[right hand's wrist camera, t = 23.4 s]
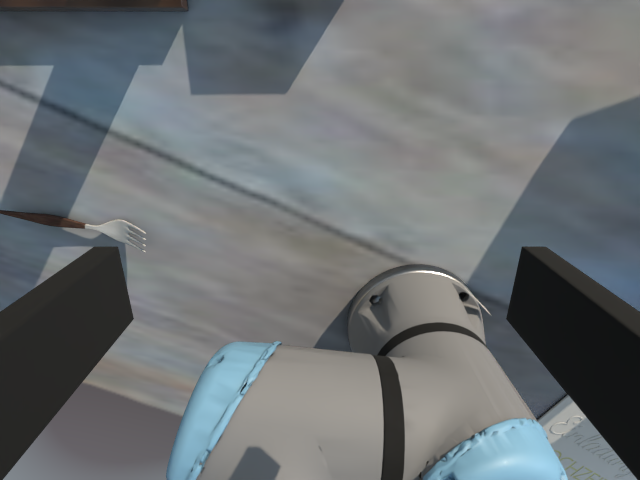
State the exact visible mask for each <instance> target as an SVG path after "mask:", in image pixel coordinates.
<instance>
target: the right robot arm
mask: <svg viewBox="0 0 640 480" xmlns="http://www.w3.org/2000/svg"><path fill="white" fill-rule="evenodd" d="M479 304H480V305H481V306H482V307H483V308H484V309H485V310H486V311H487V312H488V310H487V309H486V308H485V307H484V306H483V305H482V304H481V303H480V302H479V301H478V300H477V299H476V298H475V296H474V295H473V294H472V292H471V291H470V290H469V288H468V287H467V286H466V285H465V283H464V282H463V281H462V280H460V279H459V278H458V277H457V276H455V275H454V274H452V273H450V272H448V271H447V270H444V269H442V268H438V267H435V266H430V265H406V266H400V267H397V268H393V269H390V270H388V271H386V272H383V273H381V274H380V275H378V276H376V277H375V278H373V279H372V280H370V281H369V282H368V283H367V284H366V285H365V286H364V287H363V288H362V289H361V290H360V291H359V292H358V294H357V295H356V297H355V298H354V300H353V302H352V304H351V307H350V309H349V313H348V318H347V330H348V339H349V344H350V347H351V350H352V352H344V351H335V350H325V349H316V348H307V347H297V346H288V345H281V344H282V343H281V342H279V341H275V342H274V343H256V342H233V343H230V344H227V345H225V346H224V347H222V348H221V349H220V350H219V351H217V352H216V353H215V355H214V356H213V357H212V358H211V359H210V361H209V363H208V364H207V366H206V367H205V369H204V371H203V373H202V374H201V376H200V378H199V380H198V382H197V384H196V386H195V388H194V391H193V393H192V395H191V398H190V400H189V402H188V405H187V407H186V410H185V412H184V415H183V418H182V420H181V423H180V426H179V429H178V432H177V435H176V438H175V442H174V445H173V448H172V451H171V455H170V459H169V463H168V467H167V473H166V478H167V480H568V478H567V475H566V472H565V470H564V468H563V466H562V464H561V462H560V461H559V459H558V457H557V455H556V454H555V452H554V450H553V448H552V447H551V445H550V443H549V441H548V437H547V434H546V431H545V430H544V429H543V427H542V426H541V425H540V424H539V422H538V421H537V420H536V418H535V417H534V415H533V414H532V412H531V411H530V409H529V408H528V406H527V405H526V403H525V402H524V401H523V399H522V398H521V396H520V395H519V393H518V392H517V390H516V389H515V387H514V386H513V384H512V383H511V381H510V380H509V379H508V377H507V376H506V374H505V373H504V371H503V370H502V368H501V367H500V365H499V364H498V362H497V361H496V360H495V358H494V357H493V355H492V354H491V352H490V351H489V349H488V348H487V346H486V341H485V334H484V326H483V318H482V312H481V309H480V306H479ZM488 313H489V312H488ZM489 314H490V313H489ZM490 315H491V314H490ZM133 319H134V318H133V314H132V309H131V305H130V300H129V295H128V291H127V286H126V282H125V277H124V272H123V268H122V263H121V259H120V254H119V250H118V247H93V248H92V249H90V250H89V251H88V252H86V253H85V254H83V255H82V256H80V257H79V258H77V259H76V260H75V261H73V262H72V263H70V264H69V265H67V266H66V267H64V268H63V269H62V270H60V271H59V272H57V273H56V274H54V275H53V276H51V277H50V278H49V279H47V280H46V281H44V282H43V283H41V284H40V285H38V286H37V287H36V288H34V289H33V290H31V291H30V292H28V293H27V294H25V295H24V296H23V297H21V298H20V299H18V300H17V301H15V302H14V303H13V304H11V305H10V306H8V307H7V308H5V309H4V310H2V311H1V312H0V480H3V478H4V477H5V476H6V475H7V474H8V472H9V471H10V470H11V469H12V468H13V466H14V465H15V464H16V463H17V461H18V460H19V459H20V458H21V456H22V455H23V454H24V453H25V452H26V450H27V449H28V448H29V447H30V445H31V444H32V443H33V442H34V440H35V439H36V438H37V437H38V436H39V434H40V433H41V432H42V431H43V429H44V428H45V427H46V426H47V425H48V423H49V422H50V421H51V420H52V418H53V417H54V416H55V415H56V414H57V412H58V411H59V410H60V409H61V407H62V406H63V405H64V404H65V402H66V401H67V400H68V399H69V398H70V396H71V395H72V394H73V393H74V391H75V390H76V389H77V388H78V387H79V385H80V384H81V383H82V382H83V380H84V379H85V378H86V377H87V376H88V374H89V373H90V372H91V371H92V369H93V368H94V367H95V366H96V364H97V363H98V362H99V361H100V360H101V358H102V357H103V356H104V355H105V353H106V352H107V351H108V350H109V349H110V347H111V346H112V345H113V344H114V342H115V341H116V340H117V339H118V337H119V336H120V335H121V334H122V333H123V331H124V330H125V329H126V328H127V326H128V325H129V324H130V323H131V322H132V320H133ZM506 319H507V320H508V322H509V323H510V324H511V325H512V326H513V328H514V329H515V330H516V331H517V333H518V334H519V335H520V336H521V337H522V339H523V340H524V341H525V342H526V344H527V345H528V346H529V347H530V349H531V350H532V351H533V352H534V353H535V355H536V356H537V357H538V358H539V360H540V361H541V362H542V363H543V364H544V366H545V367H546V368H547V369H548V371H549V372H550V373H551V374H552V376H553V377H554V378H555V379H556V380H557V382H558V383H559V384H560V385H561V387H562V388H563V389H564V390H565V391H566V393H567V394H568V395H569V396H570V398H571V399H572V400H573V401H574V403H575V404H576V405H577V406H578V407H579V409H580V410H581V411H582V412H583V414H584V415H585V416H586V417H587V418H588V420H589V421H590V422H591V423H592V425H593V426H594V427H595V428H596V430H597V431H598V432H599V433H600V434H601V436H602V437H603V438H604V439H605V441H606V442H607V443H608V444H609V445H610V447H611V448H612V449H613V450H614V452H615V453H616V454H617V455H618V456H619V458H620V459H621V460H622V461H623V463H624V464H625V465H626V466H627V468H628V469H629V470H630V471H631V472H632V474H633V475H634V476H635V477H636V479H637V480H640V312H639V311H638V310H636V309H635V308H633V307H632V306H630V305H629V304H627V303H626V302H625V301H623V300H622V299H620V298H619V297H617V296H616V295H615V294H613V293H612V292H610V291H609V290H607V289H606V288H604V287H603V286H602V285H600V284H599V283H597V282H596V281H594V280H593V279H591V278H590V277H589V276H587V275H586V274H584V273H583V272H581V271H580V270H578V269H577V268H576V267H574V266H573V265H571V264H570V263H568V262H567V261H565V260H564V259H563V258H561V257H560V256H558V255H557V254H555V253H554V252H552V251H551V250H550V249H548V248H547V247H522V250H521V254H520V259H519V263H518V268H517V272H516V277H515V282H514V286H513V291H512V295H511V300H510V305H509V309H508V314H507V318H506Z"/></svg>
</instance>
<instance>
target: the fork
mask: <svg viewBox="0 0 640 480" xmlns="http://www.w3.org/2000/svg"><path fill="white" fill-rule="evenodd" d="M0 213H1V214H4V215H8V216H12V217H16V218H21V219H25V220H29V221H32V222H36V223H40V224H44V225H49V226H56V227H69V228H84V229H93V230H97V231H100V232H102V233H104V234H106V235H107V236H109V237H111V238H113V239H115V240H117V241H119V242H122V243H125V244H128V245H131V246H133V247H135V248H137V249H139V250H141V251H143V252H144V253H145V252H146V251H144V250H143V249H141V248H140V247H138V246H137V245H135V244H133V243H132V242H130V241H129V239H131V240H133V241H135V242H137V243H140V244H141V245H143V246H146V245H145V244H143V243H142V242H140V241H138V240H137V239H135V238H133V237H132V236H130V235H129V233H131V234H134V235H136V236H138V237H140V238H142V239H144V240H146V239H145V238H144V237H142V236H140V235H139V234H137V233H135V232H134V231H132V230H130V229H129V227H132V228H134V229H136V230H139V231H141V232H143V233H144V234H146V232H144V231H143V230H141V229H139V228H138V227H136V226H134V225H132V224H130V223H128V222H126V221H124V220H113V221H110V222H107V223H105V224H102V225H99V226H93V225H88V224H85V223H81V222H78V221H74V220H71V219H67V218H63V217H59V216H55V215H48V214H36V213H23V212H14V211H3V210H0Z"/></svg>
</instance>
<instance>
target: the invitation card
mask: <svg viewBox="0 0 640 480" xmlns="http://www.w3.org/2000/svg"><path fill="white" fill-rule="evenodd" d="M537 421H538V422H539V424H540V425H541V426H542V427H543V429H544V430H545V431H546V434H547V437H548V441H549V443H550V445H551V447H552V448H553V450H554V452H555V454H556V455H557V457H558V459H559V461H560V462H561V464H562V466H563V468H564V470H565V472H566V475H567V478H568V480H637V479H636V477H635V476H634V475H633V474H632V472H631V471H630V470H629V469H628V468H627V466H626V465H625V464H624V463H623V461H622V460H621V459H620V458H619V456H618V455H617V454H616V453H615V452H614V450H613V449H612V448H611V447H610V445H609V444H608V443H607V442H606V441H605V439H604V438H603V437H602V436H601V434H600V433H599V432H598V431H597V430H596V428H595V427H594V426H593V425H592V423H591V422H590V421H589V420H588V418H587V417H586V416H585V415H584V414H583V412H582V411H581V410H580V409H579V407H578V406H577V405H576V404H575V403H574V401H573V400H572V399H571V398H570V396H569V395H567V396H566V397H565V398H563V399H562V400H561V401H560V402H559V403H557V404H556V405H555V406H554V407H553V408H551V409H550V410H549V411H548V412H547V413H545V414H544V415H543V416H542V417H541V418H539V419H538V420H537Z"/></svg>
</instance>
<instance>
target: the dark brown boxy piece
mask: <svg viewBox="0 0 640 480" xmlns="http://www.w3.org/2000/svg"><path fill="white" fill-rule="evenodd" d="M0 11H188V4H187V0H0Z"/></svg>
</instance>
